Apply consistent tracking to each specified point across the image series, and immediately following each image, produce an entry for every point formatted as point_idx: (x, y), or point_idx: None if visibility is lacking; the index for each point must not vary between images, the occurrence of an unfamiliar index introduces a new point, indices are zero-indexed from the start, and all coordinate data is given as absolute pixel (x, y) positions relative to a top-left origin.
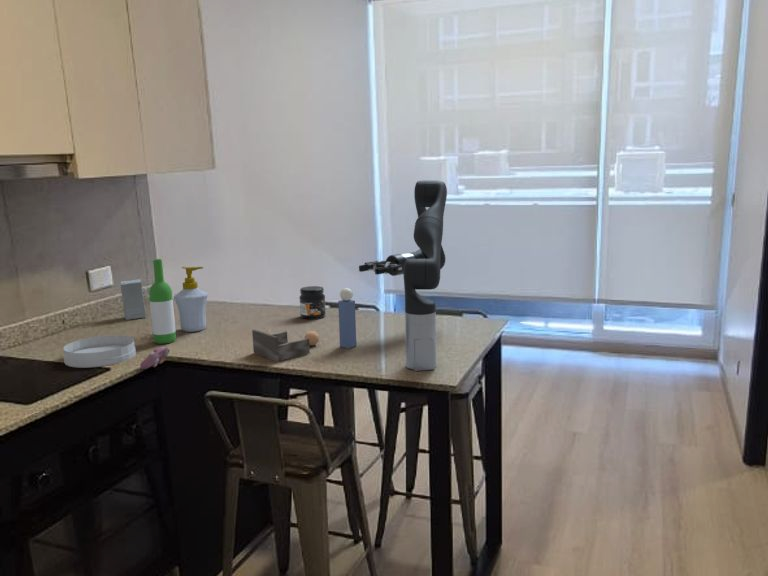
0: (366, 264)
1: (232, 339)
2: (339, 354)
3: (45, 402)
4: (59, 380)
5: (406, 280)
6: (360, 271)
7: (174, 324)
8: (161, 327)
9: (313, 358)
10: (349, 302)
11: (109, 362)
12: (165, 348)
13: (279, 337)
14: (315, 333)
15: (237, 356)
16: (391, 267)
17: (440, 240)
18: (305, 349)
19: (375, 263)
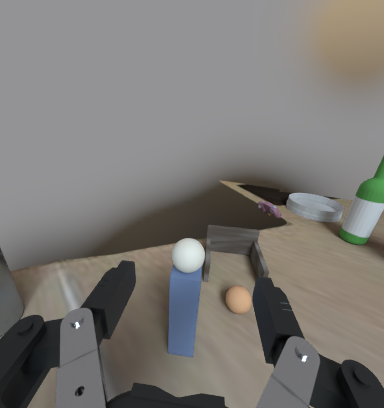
0: (282, 325)
1: (335, 272)
2: (162, 298)
3: (234, 186)
4: (267, 194)
5: None
6: (254, 299)
7: (357, 227)
8: (344, 220)
9: None
10: (173, 266)
11: (287, 205)
12: (270, 206)
13: (259, 266)
14: (233, 294)
15: None
16: (18, 323)
17: None
18: (204, 270)
19: (260, 398)
